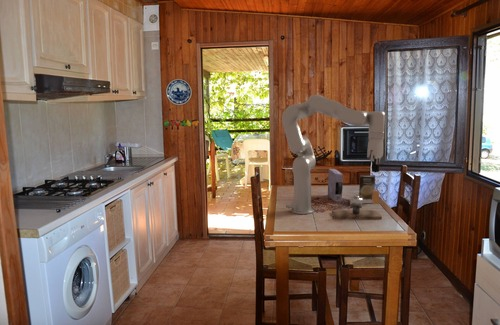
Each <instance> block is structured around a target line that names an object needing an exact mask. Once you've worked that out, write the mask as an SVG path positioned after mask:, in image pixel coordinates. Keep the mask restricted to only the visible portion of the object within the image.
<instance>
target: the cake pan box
mask: <svg viewBox="0 0 500 325" xmlns="http://www.w3.org/2000/svg"><path fill="white" fill-rule="evenodd" d="M327 178H328V180H327V181H328V182H327V196H328V197H329V198H330V199H331V200H332V201H333V202H335V203H341V202H343V201H342V200H343V199H342V198H343V188H344V187H343V182H344V180H343V179H344V174H343V173H342V172H340V171H339V170H337V169H336V168H329V169H328V177H327Z"/></svg>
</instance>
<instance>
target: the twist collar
mask: <svg viewBox="0 0 500 325" xmlns="http://www.w3.org/2000/svg"><path fill="white" fill-rule="evenodd" d="M349 200H350V201H349V204H350V206H362V207H363V204H372V205H379V204H380V201H379V200H380V190H376V189H375V190H372V199H368V200H363V198H362V197H359V195H353V196H351V197H349Z"/></svg>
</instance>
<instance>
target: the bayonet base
mask: <svg viewBox="0 0 500 325" xmlns="http://www.w3.org/2000/svg"><path fill="white" fill-rule="evenodd" d="M350 208H352V210H351V209H349V210H348V209H347V210H345V209H343V210H341V209H339V210H335V209H332V210H331V214H332V216H333V218H334V220H382V218H383V216H382V215H381V214H380V213H379V212H378V210H376V209H375V210H374V209H372V210H371V209H370V210H367V209H365V210H364V209H362V208H363V205H362V206H352V205H350ZM361 209H362V210H361Z"/></svg>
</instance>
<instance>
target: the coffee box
mask: <svg viewBox="0 0 500 325" xmlns="http://www.w3.org/2000/svg"><path fill="white" fill-rule="evenodd" d="M375 187H376V175H373V174H372V175H371V174H359V189H358V196H359V197H362V198H363V200H368V199H372V190H376V188H375Z"/></svg>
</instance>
